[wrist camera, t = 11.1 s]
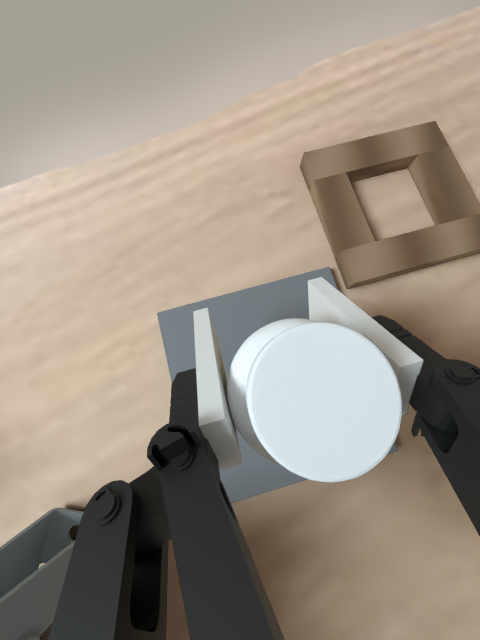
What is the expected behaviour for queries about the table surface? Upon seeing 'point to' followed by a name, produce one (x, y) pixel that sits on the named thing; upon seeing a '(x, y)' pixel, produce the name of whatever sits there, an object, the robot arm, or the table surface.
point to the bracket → (35, 574)
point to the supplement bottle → (315, 399)
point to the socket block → (432, 182)
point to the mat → (232, 330)
